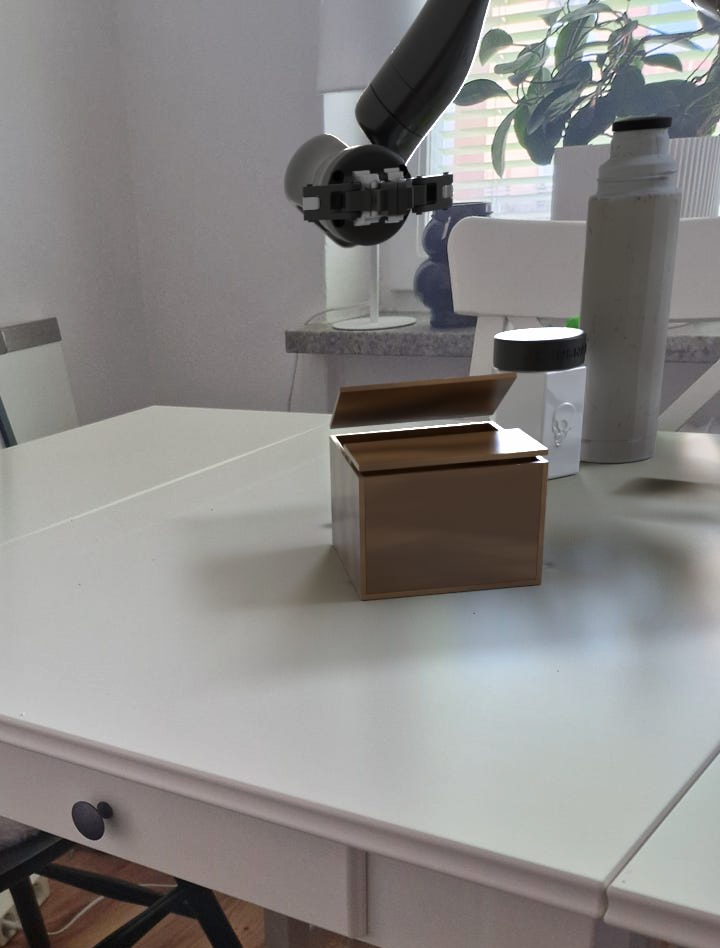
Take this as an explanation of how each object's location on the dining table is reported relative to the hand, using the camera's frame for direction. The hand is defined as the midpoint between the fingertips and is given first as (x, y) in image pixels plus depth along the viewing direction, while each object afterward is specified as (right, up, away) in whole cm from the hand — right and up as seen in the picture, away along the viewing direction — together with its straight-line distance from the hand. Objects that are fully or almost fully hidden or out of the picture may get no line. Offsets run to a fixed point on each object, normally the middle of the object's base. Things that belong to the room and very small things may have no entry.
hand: (398, 199), depth 87 cm
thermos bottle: (+25, -10, +27) cm, 38 cm away
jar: (+16, -13, +23) cm, 31 cm away
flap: (+1, -16, -1) cm, 16 cm away
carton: (+2, -27, +1) cm, 27 cm away
